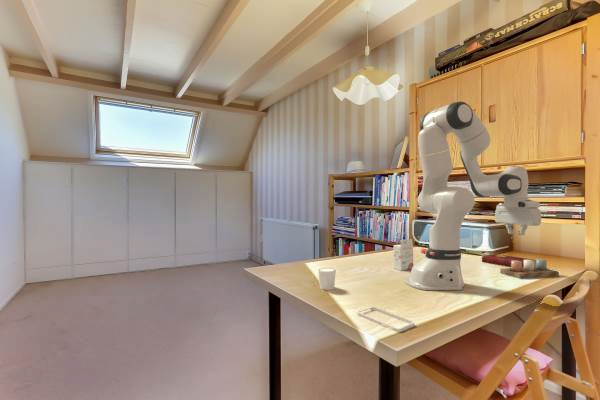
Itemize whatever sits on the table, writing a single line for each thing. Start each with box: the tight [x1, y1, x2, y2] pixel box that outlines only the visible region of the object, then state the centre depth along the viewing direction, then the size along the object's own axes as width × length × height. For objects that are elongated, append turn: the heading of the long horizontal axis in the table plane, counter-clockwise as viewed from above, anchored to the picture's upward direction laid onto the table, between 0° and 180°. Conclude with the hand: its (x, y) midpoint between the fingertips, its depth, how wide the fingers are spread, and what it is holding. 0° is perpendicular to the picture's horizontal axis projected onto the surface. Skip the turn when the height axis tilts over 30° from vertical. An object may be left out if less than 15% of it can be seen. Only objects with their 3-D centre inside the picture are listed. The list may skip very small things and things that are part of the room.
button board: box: [499, 267, 560, 280], centre depth 135 cm, size 20×10×2 cm, turn 100°
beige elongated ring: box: [356, 306, 415, 333], centre depth 86 cm, size 7×1×15 cm
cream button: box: [524, 260, 534, 271], centre depth 135 cm, size 4×4×4 cm
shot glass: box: [317, 267, 337, 291], centre depth 117 cm, size 7×7×7 cm
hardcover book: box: [481, 253, 536, 268], centre depth 155 cm, size 12×21×4 cm, turn 27°
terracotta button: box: [510, 260, 522, 272], centre depth 133 cm, size 4×4×4 cm
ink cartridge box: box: [393, 238, 414, 271], centre depth 148 cm, size 9×5×15 cm, turn 118°
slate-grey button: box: [535, 258, 548, 271], centre depth 136 cm, size 4×4×4 cm
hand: (516, 234), depth 133 cm, fingers open, 4 cm apart
